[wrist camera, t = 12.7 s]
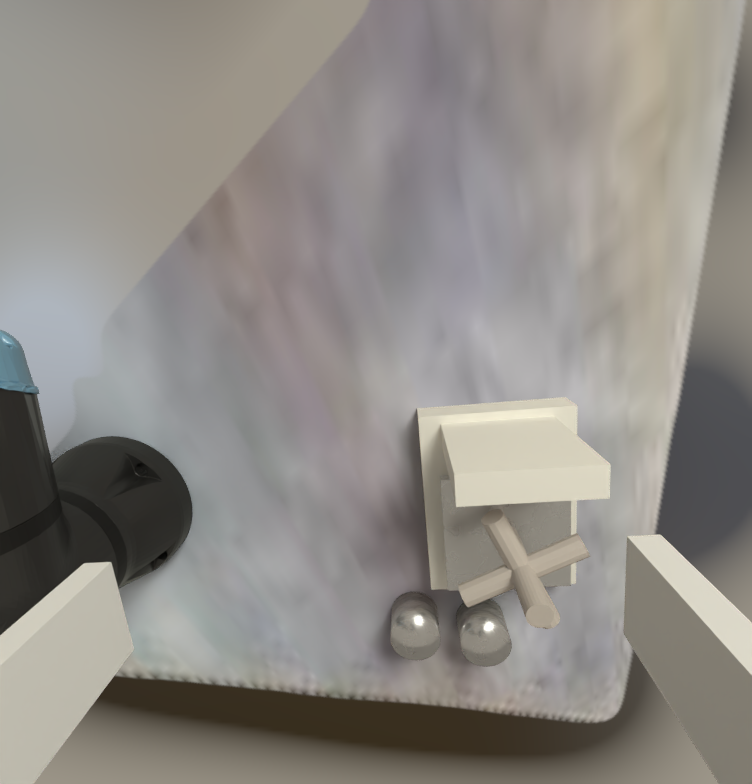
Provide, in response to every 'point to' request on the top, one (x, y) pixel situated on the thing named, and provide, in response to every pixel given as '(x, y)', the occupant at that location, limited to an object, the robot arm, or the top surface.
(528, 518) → the pan
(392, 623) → the cylinder
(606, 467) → the scale base
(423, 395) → the top surface
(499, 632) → the cylinder
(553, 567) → the cream toy jack
